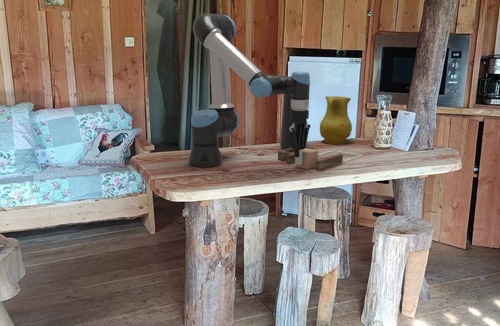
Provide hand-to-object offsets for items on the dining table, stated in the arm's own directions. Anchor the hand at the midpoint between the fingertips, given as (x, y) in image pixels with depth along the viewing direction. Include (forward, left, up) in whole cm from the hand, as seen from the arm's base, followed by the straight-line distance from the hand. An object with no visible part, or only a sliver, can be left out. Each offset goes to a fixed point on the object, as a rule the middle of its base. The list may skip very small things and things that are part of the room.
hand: (298, 164), depth 210 cm
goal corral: (0, +32, -2) cm, 32 cm away
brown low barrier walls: (-4, +12, -2) cm, 13 cm away
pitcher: (-20, +61, -2) cm, 64 cm away
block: (0, +6, -2) cm, 6 cm away
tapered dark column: (-28, +33, -2) cm, 44 cm away
